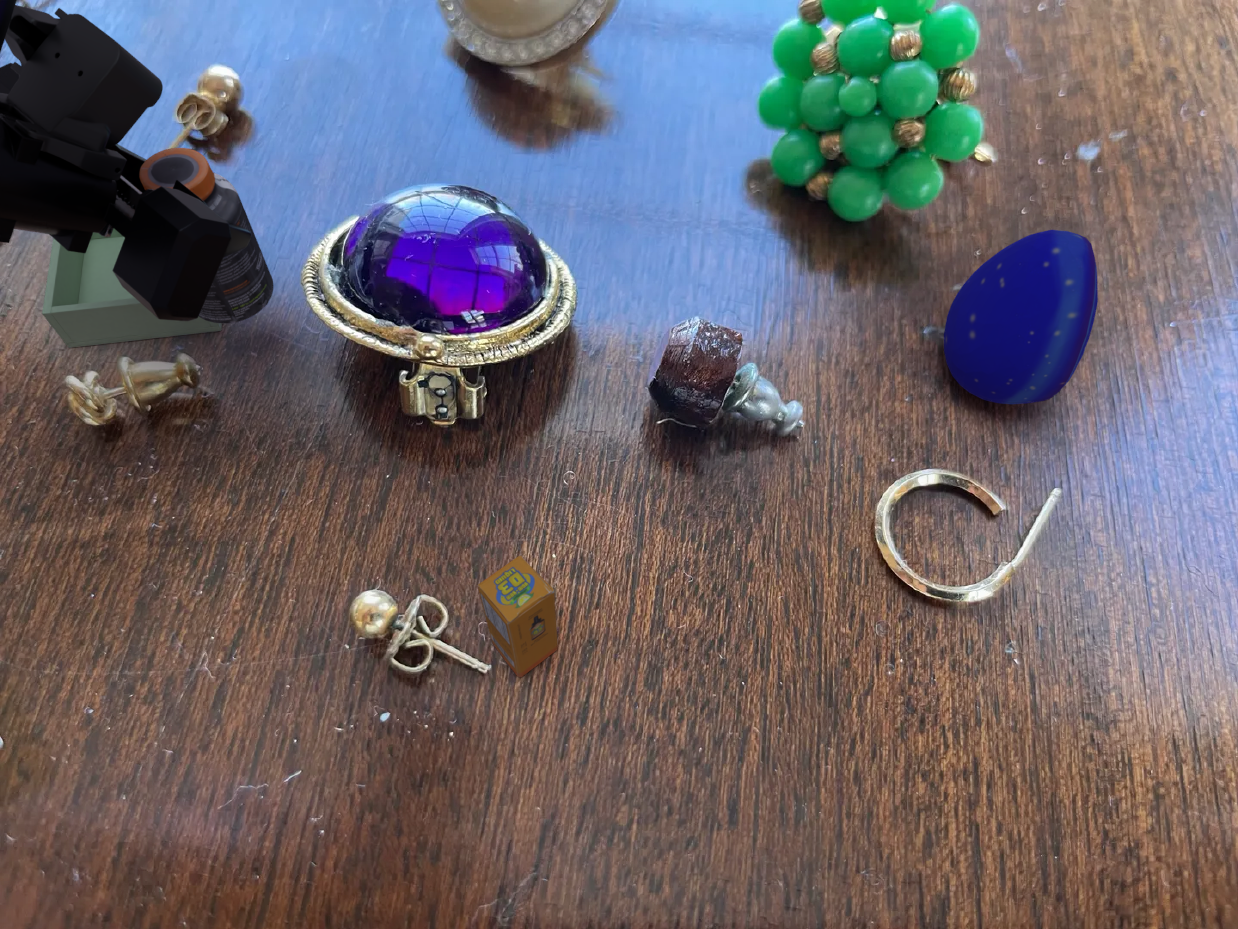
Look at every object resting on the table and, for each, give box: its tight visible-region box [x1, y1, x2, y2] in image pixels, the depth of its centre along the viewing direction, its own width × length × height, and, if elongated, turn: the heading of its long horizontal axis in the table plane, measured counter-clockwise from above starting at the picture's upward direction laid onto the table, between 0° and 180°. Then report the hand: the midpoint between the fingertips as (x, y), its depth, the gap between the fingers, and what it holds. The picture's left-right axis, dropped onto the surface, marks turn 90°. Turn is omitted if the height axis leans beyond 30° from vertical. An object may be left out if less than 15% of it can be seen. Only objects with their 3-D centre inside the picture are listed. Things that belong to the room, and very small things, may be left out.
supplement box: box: [477, 555, 559, 678], centre depth 53 cm, size 3×3×10 cm
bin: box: [41, 229, 223, 349], centre depth 69 cm, size 11×11×4 cm
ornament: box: [943, 229, 1099, 405], centre depth 65 cm, size 11×9×15 cm
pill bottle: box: [140, 147, 274, 324], centre depth 58 cm, size 6×6×11 cm
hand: (217, 214), depth 57 cm, fingers closed on pill bottle, 6 cm apart
